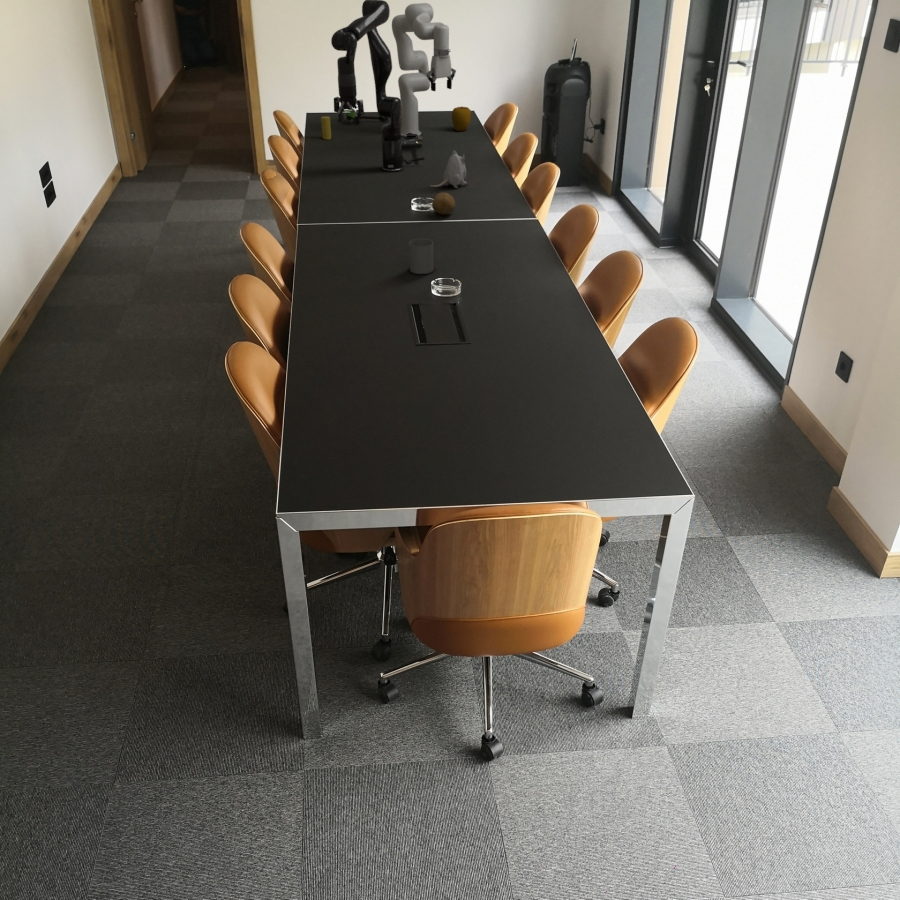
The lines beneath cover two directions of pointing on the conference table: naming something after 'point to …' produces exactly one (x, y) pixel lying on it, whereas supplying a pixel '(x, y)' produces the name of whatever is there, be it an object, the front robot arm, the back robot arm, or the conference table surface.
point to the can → (326, 127)
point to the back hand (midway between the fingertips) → (441, 89)
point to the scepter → (361, 117)
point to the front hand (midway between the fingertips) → (349, 124)
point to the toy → (454, 171)
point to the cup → (421, 256)
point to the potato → (443, 203)
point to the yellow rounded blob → (461, 118)
